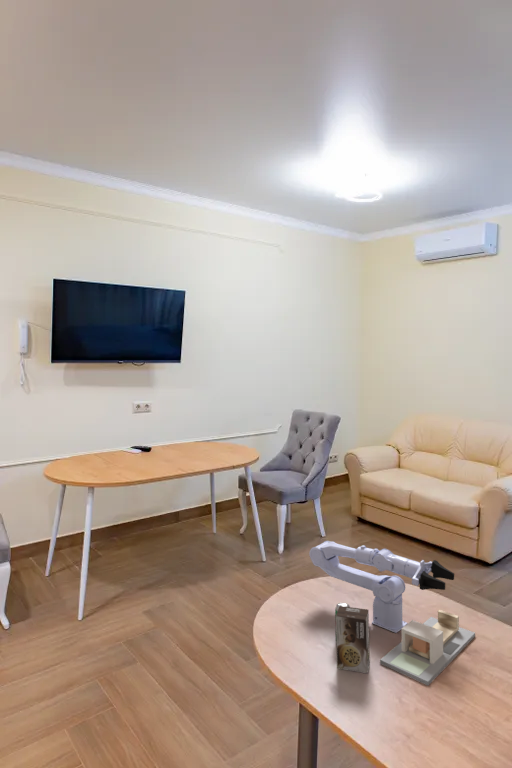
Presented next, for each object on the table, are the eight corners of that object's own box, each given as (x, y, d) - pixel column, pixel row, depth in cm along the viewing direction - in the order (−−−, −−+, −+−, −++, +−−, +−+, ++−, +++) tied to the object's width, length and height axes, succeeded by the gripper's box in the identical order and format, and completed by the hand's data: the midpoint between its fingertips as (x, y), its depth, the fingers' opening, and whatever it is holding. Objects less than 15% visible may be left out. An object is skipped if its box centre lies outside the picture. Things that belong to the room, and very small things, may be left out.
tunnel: (401, 650, 152) (401, 628, 152) (412, 641, 157) (412, 619, 157) (433, 664, 145) (432, 640, 145) (443, 654, 150) (443, 631, 150)
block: (413, 648, 151) (413, 635, 151) (419, 642, 154) (419, 630, 154) (425, 653, 148) (425, 640, 148) (431, 647, 151) (431, 634, 151)
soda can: (351, 647, 156) (350, 610, 156) (335, 646, 157) (334, 609, 157) (351, 638, 161) (351, 602, 161) (335, 637, 162) (335, 601, 162)
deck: (380, 663, 148) (380, 659, 148) (431, 620, 172) (431, 616, 172) (428, 685, 137) (428, 681, 137) (475, 636, 161) (475, 632, 161)
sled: (408, 650, 151) (408, 635, 151) (439, 622, 167) (439, 609, 167) (428, 658, 147) (428, 643, 147) (458, 629, 163) (458, 616, 162)
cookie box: (370, 661, 149) (369, 609, 148) (367, 674, 143) (367, 619, 142) (339, 656, 152) (339, 604, 151) (336, 668, 146) (335, 615, 145)
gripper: (398, 564, 159) (441, 578, 150) (417, 548, 169) (458, 560, 160) (398, 585, 159) (440, 600, 150) (417, 568, 170) (457, 581, 161)
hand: (449, 581), depth 155 cm, fingers open, 7 cm apart
